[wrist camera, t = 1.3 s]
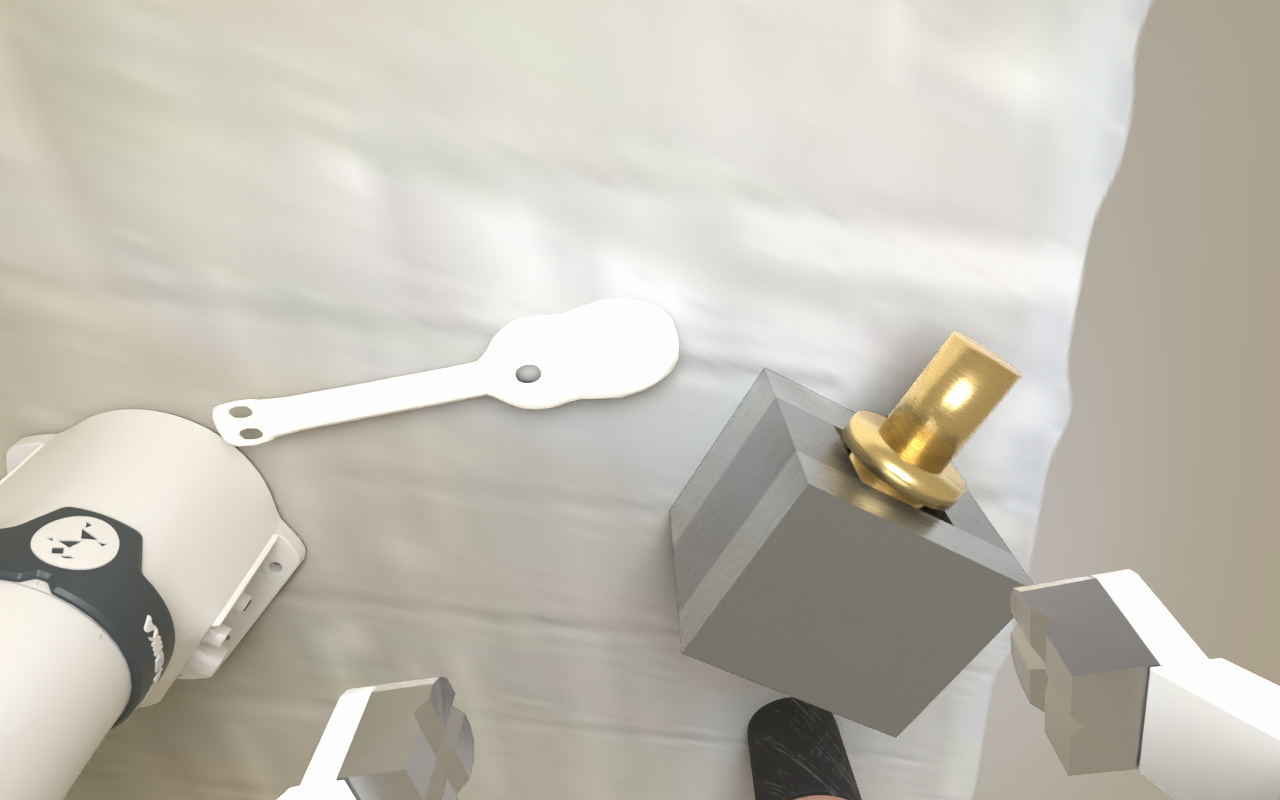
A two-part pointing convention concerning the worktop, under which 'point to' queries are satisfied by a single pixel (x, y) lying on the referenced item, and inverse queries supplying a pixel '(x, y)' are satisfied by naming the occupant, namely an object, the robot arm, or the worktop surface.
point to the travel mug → (798, 754)
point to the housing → (829, 568)
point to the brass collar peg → (930, 425)
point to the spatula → (495, 372)
